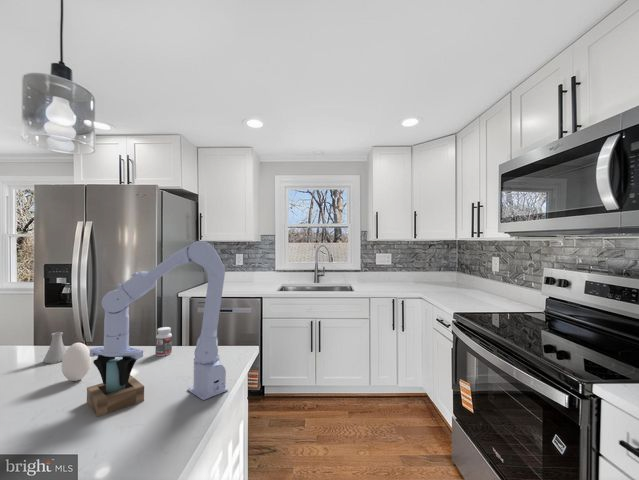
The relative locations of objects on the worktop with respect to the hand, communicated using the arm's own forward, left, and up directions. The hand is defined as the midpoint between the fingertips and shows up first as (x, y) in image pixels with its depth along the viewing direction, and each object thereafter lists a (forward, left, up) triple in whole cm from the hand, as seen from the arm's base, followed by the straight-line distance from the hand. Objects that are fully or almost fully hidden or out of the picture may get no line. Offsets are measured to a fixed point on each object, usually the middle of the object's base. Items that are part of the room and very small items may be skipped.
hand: (115, 383), depth 84 cm
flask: (+50, +5, -5) cm, 50 cm away
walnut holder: (0, 0, -5) cm, 5 cm away
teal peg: (0, 0, -3) cm, 3 cm away
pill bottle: (+28, -24, -5) cm, 37 cm away
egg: (+24, +4, -5) cm, 25 cm away
